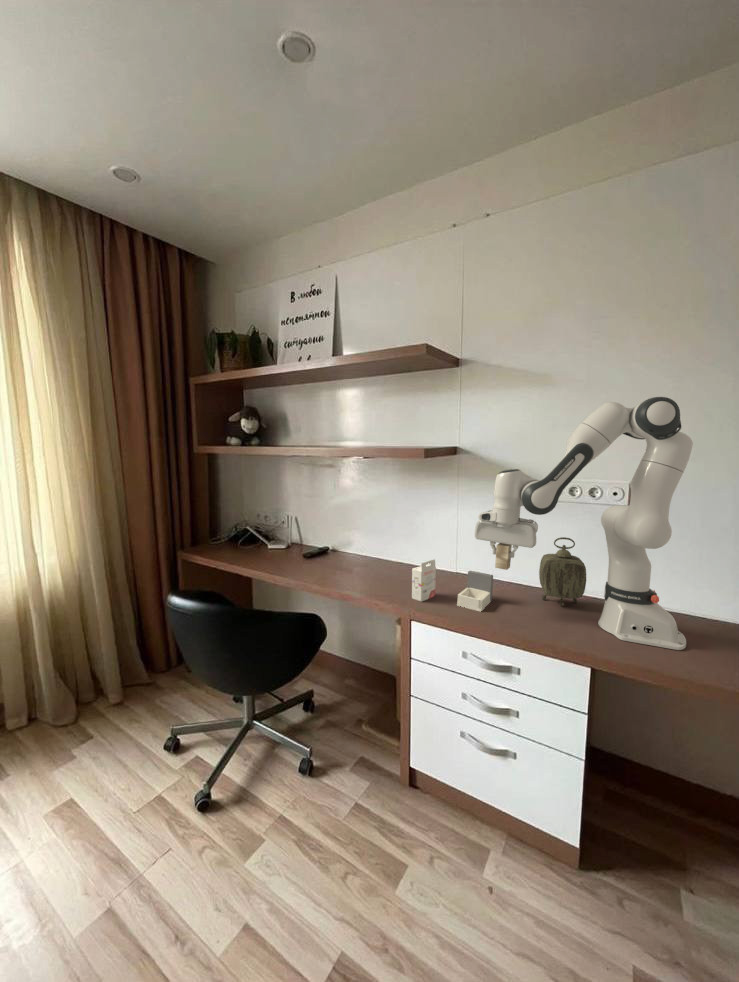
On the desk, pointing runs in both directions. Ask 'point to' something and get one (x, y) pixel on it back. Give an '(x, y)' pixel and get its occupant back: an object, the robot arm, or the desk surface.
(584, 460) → the robot arm
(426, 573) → the ink cartridge box
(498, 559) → the rail end bracket
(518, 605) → the desk surface
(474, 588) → the post socket
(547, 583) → the tabletop clock
